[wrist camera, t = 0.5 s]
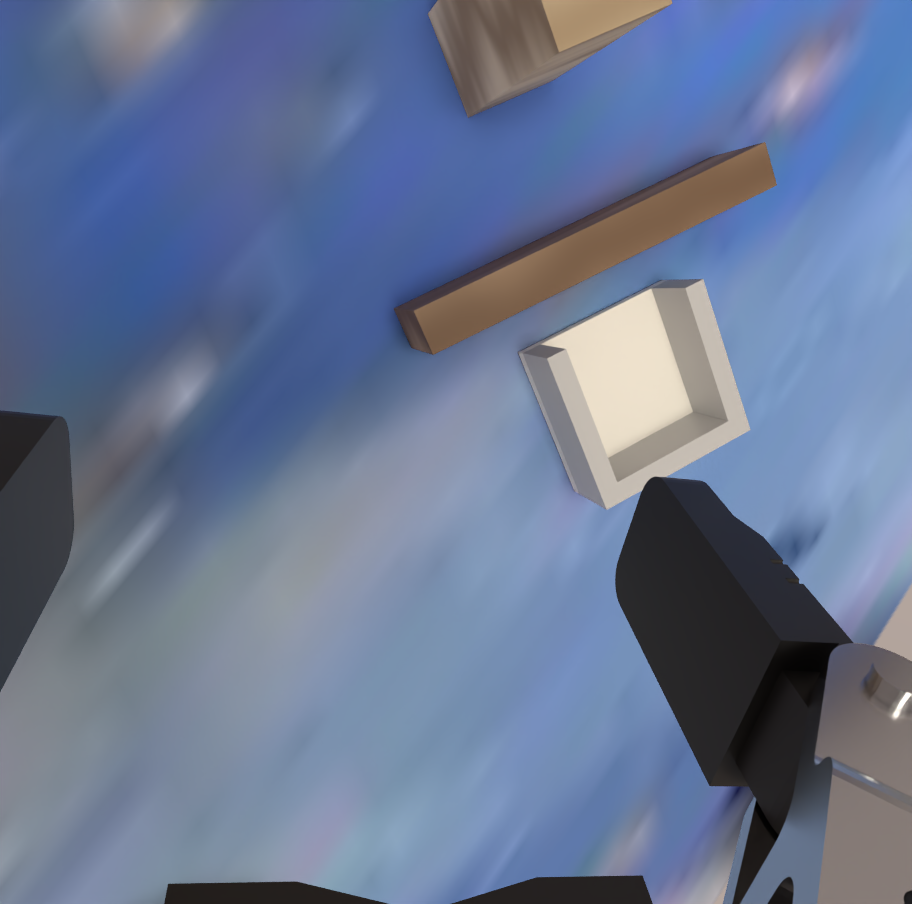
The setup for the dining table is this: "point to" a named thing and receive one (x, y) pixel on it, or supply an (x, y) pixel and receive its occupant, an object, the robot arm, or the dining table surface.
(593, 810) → the dining table surface
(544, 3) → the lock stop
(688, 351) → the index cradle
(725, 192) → the rail
